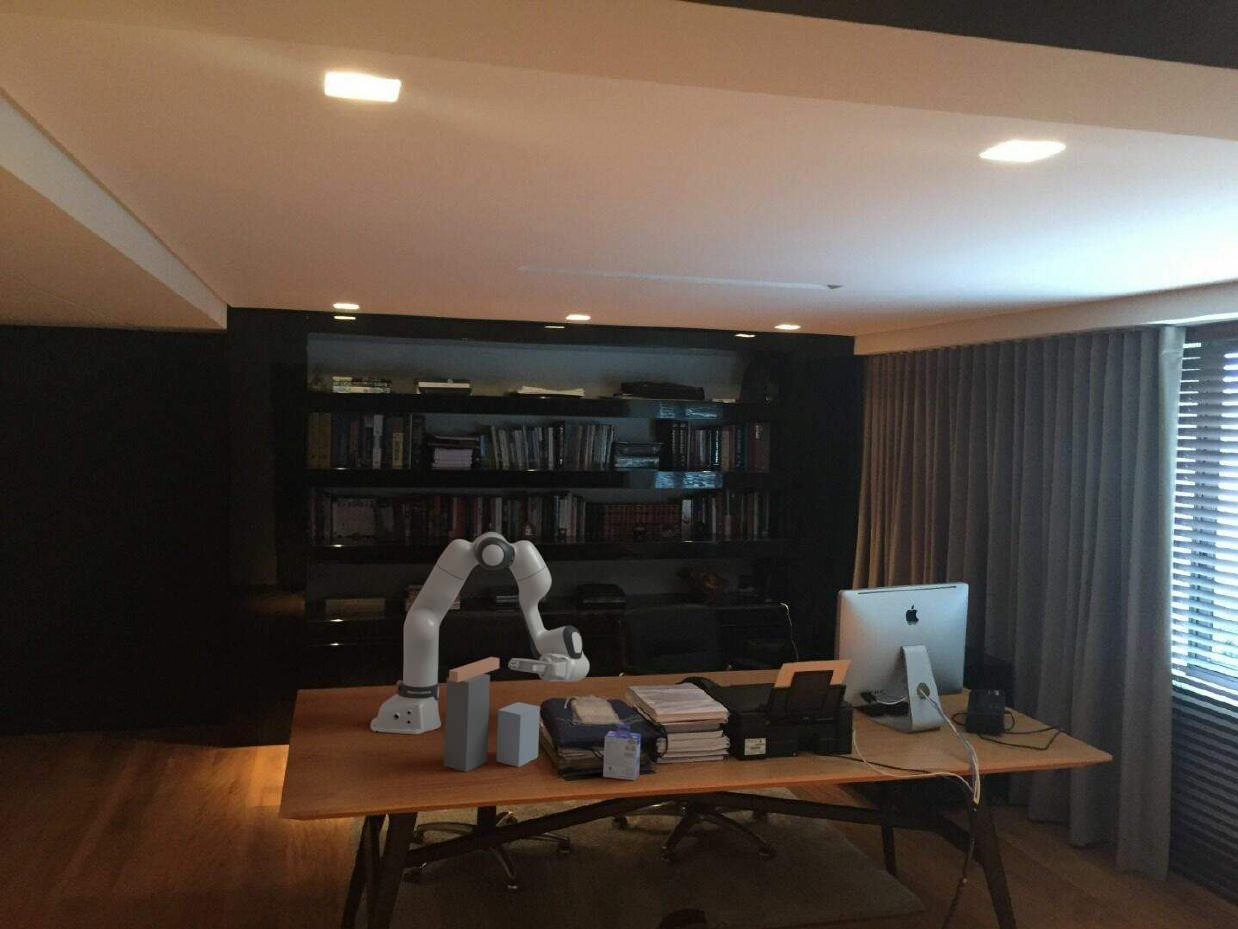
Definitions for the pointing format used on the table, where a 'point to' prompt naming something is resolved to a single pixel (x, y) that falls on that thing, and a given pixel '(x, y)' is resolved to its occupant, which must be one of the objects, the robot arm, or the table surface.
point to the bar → (473, 669)
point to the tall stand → (467, 723)
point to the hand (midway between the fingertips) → (520, 666)
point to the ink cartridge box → (621, 754)
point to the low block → (518, 734)
